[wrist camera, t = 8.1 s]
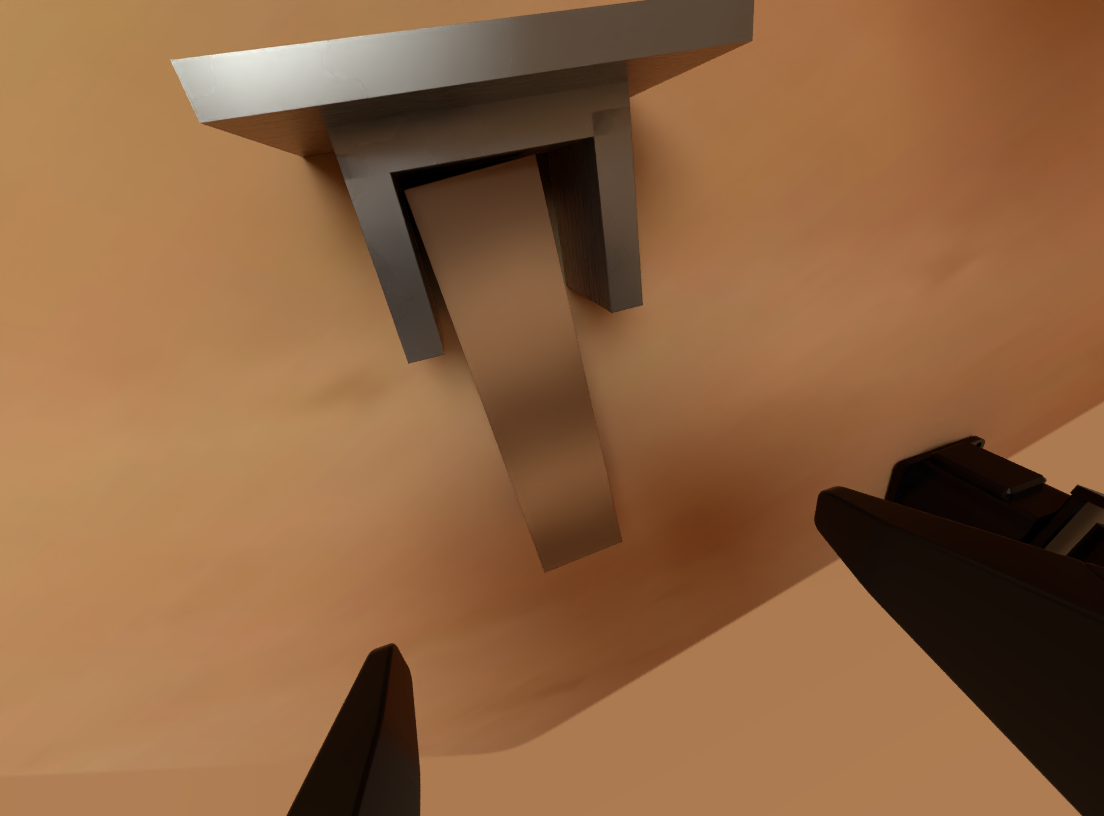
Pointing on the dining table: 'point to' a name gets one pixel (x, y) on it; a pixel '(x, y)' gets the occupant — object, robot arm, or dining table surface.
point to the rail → (521, 349)
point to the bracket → (475, 123)
